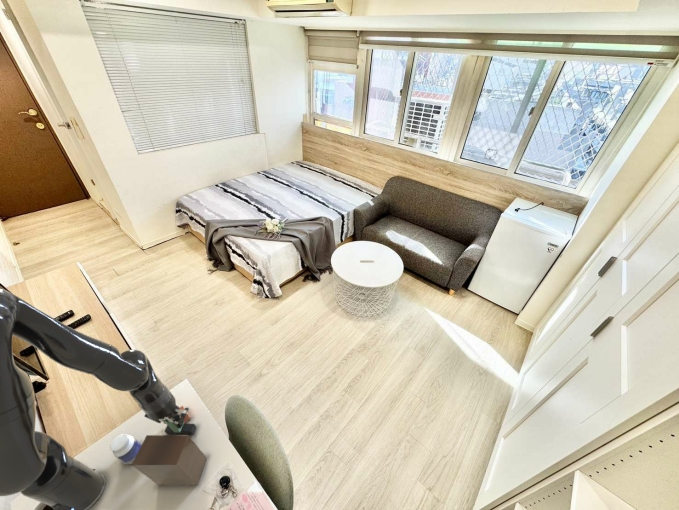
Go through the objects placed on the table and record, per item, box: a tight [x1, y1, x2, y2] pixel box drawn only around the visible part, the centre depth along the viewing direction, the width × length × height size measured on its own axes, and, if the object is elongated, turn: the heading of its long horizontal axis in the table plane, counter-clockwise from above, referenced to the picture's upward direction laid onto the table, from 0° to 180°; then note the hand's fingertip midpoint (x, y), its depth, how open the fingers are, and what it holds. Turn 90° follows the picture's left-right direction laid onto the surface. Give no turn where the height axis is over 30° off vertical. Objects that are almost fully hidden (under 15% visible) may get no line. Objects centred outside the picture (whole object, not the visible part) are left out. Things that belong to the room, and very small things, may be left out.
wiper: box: [164, 420, 197, 436], centre depth 90 cm, size 9×3×10 cm, turn 90°
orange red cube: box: [179, 405, 191, 424], centre depth 95 cm, size 4×4×4 cm
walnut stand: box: [131, 434, 208, 486], centre depth 79 cm, size 12×7×18 cm, turn 90°
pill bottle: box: [109, 433, 142, 465], centre depth 85 cm, size 6×6×10 cm
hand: (177, 424), depth 90 cm, fingers closed on wiper, 2 cm apart
